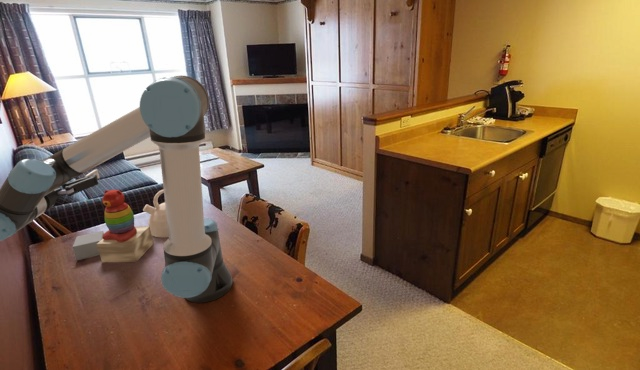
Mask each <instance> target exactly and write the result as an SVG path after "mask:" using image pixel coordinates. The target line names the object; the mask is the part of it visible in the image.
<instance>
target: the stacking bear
mask: <svg viewBox="0 0 640 370" xmlns="http://www.w3.org/2000/svg"><path fill="white" fill-rule="evenodd" d="M102 196H103V197H102V201H101V202H102V204H103V205H104V206H105V208H104V222H105V226H106V228H108V230H107V231H105V232H104V234H103V239H105V240H109V239H115V240H117V241H118V242H124V241H127V240H129V239H130V238H132V237H133V236H134V235H135V234H136V231H137V230H136V228H135V227H136V226H135V215H134V212H133V210H132V208H131V206H130V205H129V204H128V203H126V202H125V200H126V199H125V195H124V193H123V192H122V191H121V190H120V189H119V190H118V189H112V190H108V189H107V190H105V191H104V194H103V195H102Z"/></svg>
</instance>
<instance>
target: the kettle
mask: <svg viewBox="0 0 640 370" xmlns="http://www.w3.org/2000/svg"><path fill="white" fill-rule="evenodd" d="M162 194H164V188H163V189H161V190H159V191H158V192H157V193H156V194H155V195H154V197H153V202H152V203H153V206H151V205H149V204H145V206H144V207H143V208H142V211H143V212H144V213H147V214H148V215H150V216H149V218H148V226H150V230H151V234H152V237H156V238H163V239H164V238H169V233H168V224H167V215H166V206H165V201H164V202H162V203H160V204H159V202H158V200H159V197H160V196H161V195H162Z"/></svg>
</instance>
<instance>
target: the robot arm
mask: <svg viewBox="0 0 640 370" xmlns="http://www.w3.org/2000/svg"><path fill="white" fill-rule="evenodd" d="M209 97H210V96H209V94H208V92H207V89H206V87H204V85H203V84H202V83H201V82H200V81H198V80H197V78H196V79H195V78H193V77H191V76H187V75H175V76H168V77H166V76H165V77H161V78H158V79H157V80H154V81H153V82H152V83H150V84H149V85H148V86H147V87H145V89H144V90H143V92H142V94H141V97H140V99H139V107H137V108H135V109H133V110H131V111H130V112H128V113H126V114H124V115H122V116H120V117H119V118H117V119H115V120H113V121H112V122H110V123H108V124H107V125H104V126H103V127H100V128H99V129H97V130H95V131H93V132H92V133H90V134H88V135H85V136H84V137H82V138H80V139H78V140H77V141H76V142H74V143H72V144H70V145H68V146H66V147H65V148H63V149H61V150H59V151H57V152H55V153H53V154H52V155H50V156H48V157H46V158H44V159H42V160H39V159H34V158H33V159H29V158H25V159H24V158H23V159H21V160H19V161H18V162H17V163H16V164H15V166H14V167H13V168H12V169H11V170H10V171H9V173H8V176H7V177H6V179H5V181H4V182H3V184H2V185H1V186H0V242H2V241H5V240H6V239H8V238H10V237H12V236H14V235H16V233H17V232H19V231H20V230H21V229H23V228H24V227H26V226H27V225H28V224H30V223H33V222H34V220H35V219H37V218H38V217H40V216H41V215H42V214H44V213H46V212H47V211H49V210H50V209H52V208H53V207H54V206H55V204H56V201H57V200H58V199H60V198H61V197H64V196H67V197H72V196H74V195H75V194H78V193H80V192H82V191H85V190H88V189H90V188H93V187H94V188H95V186H97V185H99V180H98V179H100V178H101V177H100V174H99V170H98V169H96V168H95V167H98V166H99V165H101V164H103V163H104V162H106V161H108V160H110V159H112V158H115V156H118V155H119V154H122V153H123V152H125V151H127V150H129V149H130V148H132V147H134V146H136V145H138V144H140V143H142V142H143V141H146V140H147V139H149V138H150V141H151V142H152V143H154V144H155V145H156V146H157V147H158V149H159V151H158V152H159V160H160V168H161V177H162V186H163V189H164V193H163V195H164V202H165V206H166V215H167V224H168V233H169V237H168V238H167V240H166V241H165V242H164V243H163V253H164V254H163V257H164V268H163V270H162V272H161V277H160V283H161V285H162V287H163V288H164V289H165V291H166V292H167V293H169V294H172V295H173V296H175V297H178V298H184V299H185V300H186V301H189V302H192V303H195V304H197V303H198V304H199V303H201V304H202V303H203V304H204V303H208V302H212V301H215V300H218V299H220V298H221V297H223V296H224V295H226V294H228V292H229V291H230V290H231V288H232V286H233V278H232V277H233V276H232V273H231V271H230V270H229V269H228V266H226V265H227V264H226V263H225V262H224V258H223V250H222V246H221V240H220V234H219V233H220V231H219V227H218V224H217V223H218V222H216V220H214V219H213V218H206V217H204V216H205V215H204V201H203V186H202V173H201V172H202V171H201V158H200V156H201V155H200V145H201V144H202V143H203V142H204V141H205V139H206V130H205V127H206V126H205V116H206V114H207V113H208V110H209V108H210V107H209V106H210V98H209ZM94 168H95V169H94ZM92 169H94V170H92ZM89 170H92V171H91V172H89V173H87V172H88V171H89ZM84 173H87V174H86V175H84V177H82V178H78V179H76V178H77V177H79V176H82V175H83V174H84ZM74 179H75V180H74ZM61 187H62V188H61Z"/></svg>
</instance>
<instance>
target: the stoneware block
mask: <svg viewBox="0 0 640 370" xmlns="http://www.w3.org/2000/svg"><path fill="white" fill-rule="evenodd" d="M104 233H105V232H104V230H101V231H96V232H91V233H87V234H82V235H76V237H75V240H74V243H73V245H72V249H73V251H74V256H75V258H76V260H77V261H81V260H84V259H89V258H93V257H97V256H100V254H99V251H98V248H97V243H98V242H100V241H101V240H102V239H103V234H104Z"/></svg>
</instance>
